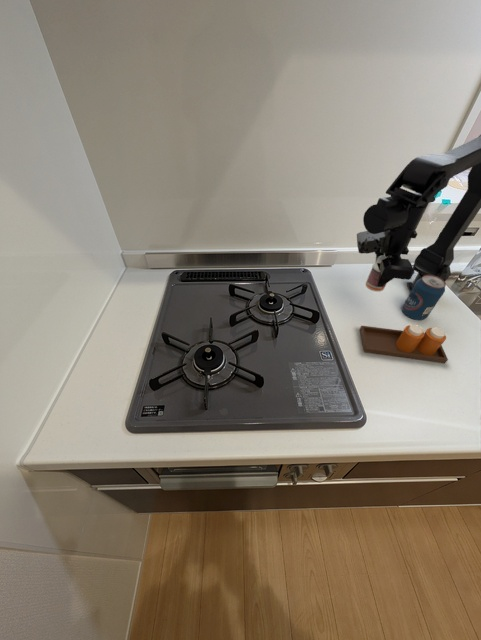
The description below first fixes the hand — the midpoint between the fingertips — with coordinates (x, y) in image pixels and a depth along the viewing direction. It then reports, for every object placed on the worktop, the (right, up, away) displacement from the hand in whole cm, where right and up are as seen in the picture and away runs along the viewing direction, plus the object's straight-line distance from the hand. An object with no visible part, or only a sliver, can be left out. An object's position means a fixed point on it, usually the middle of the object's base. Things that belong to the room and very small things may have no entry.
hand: (377, 280), depth 72 cm
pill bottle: (0, -2, +2) cm, 2 cm away
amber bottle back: (+12, -18, -1) cm, 21 cm away
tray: (+6, -17, 0) cm, 18 cm away
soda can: (+15, -9, +9) cm, 19 cm away
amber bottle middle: (+7, -17, -1) cm, 18 cm away
